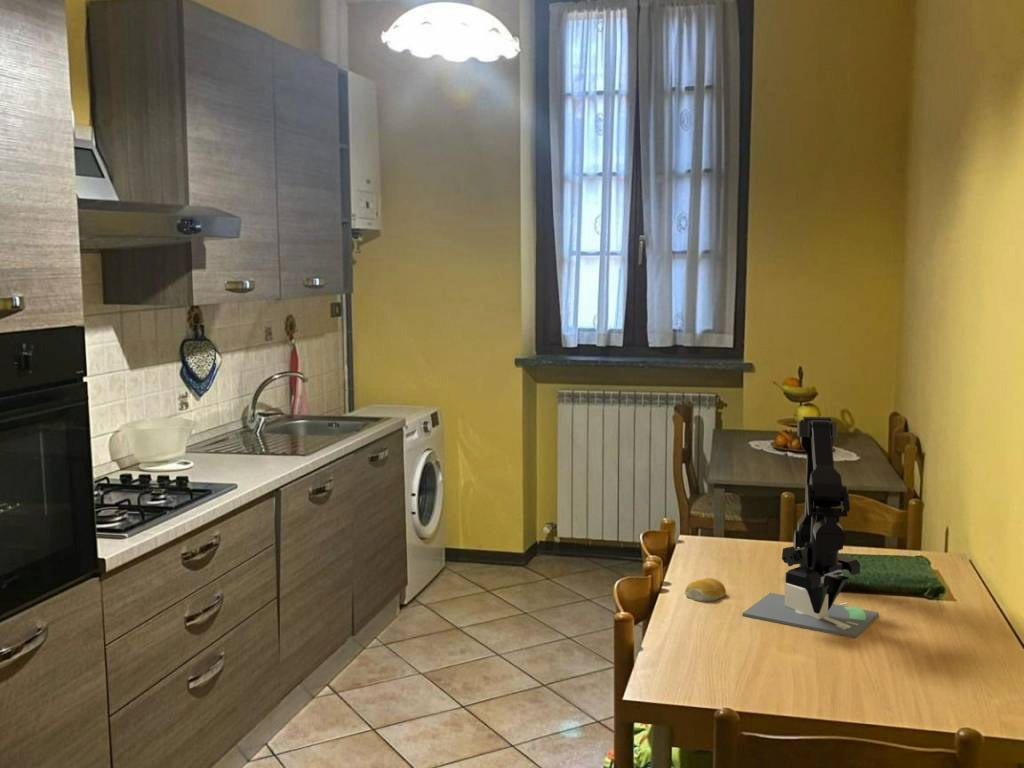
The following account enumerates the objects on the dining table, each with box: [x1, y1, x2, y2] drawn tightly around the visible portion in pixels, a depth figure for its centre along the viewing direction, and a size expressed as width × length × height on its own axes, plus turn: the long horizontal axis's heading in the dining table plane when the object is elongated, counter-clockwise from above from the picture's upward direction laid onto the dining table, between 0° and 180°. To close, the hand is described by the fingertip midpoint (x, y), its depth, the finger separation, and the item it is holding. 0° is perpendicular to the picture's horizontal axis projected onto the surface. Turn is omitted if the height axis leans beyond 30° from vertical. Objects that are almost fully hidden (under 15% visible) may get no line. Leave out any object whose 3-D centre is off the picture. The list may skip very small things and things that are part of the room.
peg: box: [784, 582, 851, 629], centre depth 213 cm, size 3×17×5 cm, turn 28°
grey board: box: [742, 592, 880, 639], centre depth 217 cm, size 18×24×1 cm
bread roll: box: [684, 577, 727, 602], centre depth 230 cm, size 8×9×4 cm
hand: (821, 611), depth 213 cm, fingers open, 3 cm apart
